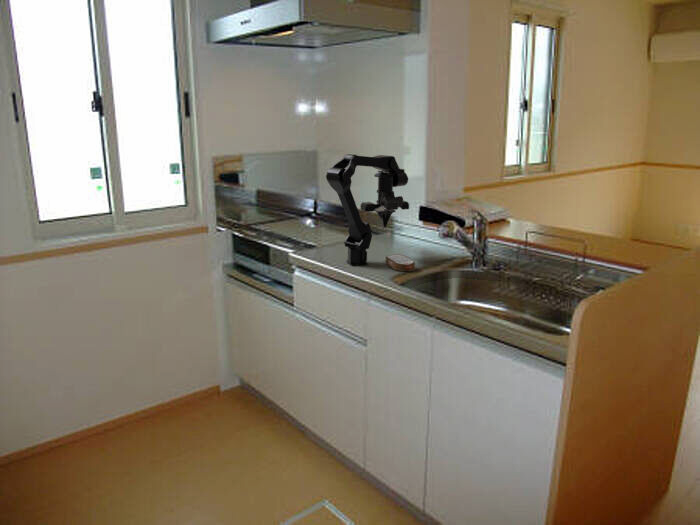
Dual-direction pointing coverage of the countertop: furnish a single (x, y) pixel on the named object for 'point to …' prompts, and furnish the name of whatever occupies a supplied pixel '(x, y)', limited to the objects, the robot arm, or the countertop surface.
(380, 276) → the countertop surface
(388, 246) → the countertop surface
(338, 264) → the countertop surface
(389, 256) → the tin
